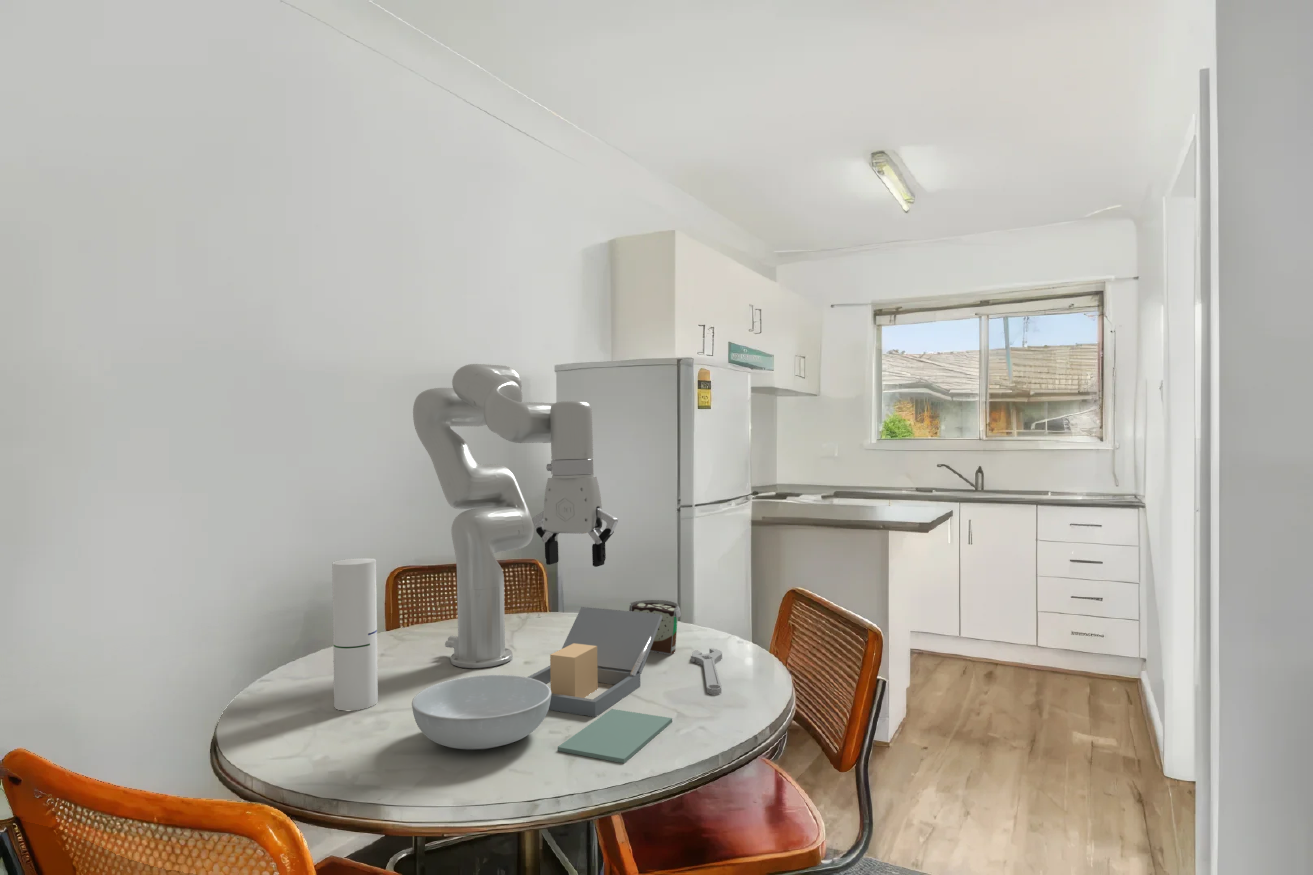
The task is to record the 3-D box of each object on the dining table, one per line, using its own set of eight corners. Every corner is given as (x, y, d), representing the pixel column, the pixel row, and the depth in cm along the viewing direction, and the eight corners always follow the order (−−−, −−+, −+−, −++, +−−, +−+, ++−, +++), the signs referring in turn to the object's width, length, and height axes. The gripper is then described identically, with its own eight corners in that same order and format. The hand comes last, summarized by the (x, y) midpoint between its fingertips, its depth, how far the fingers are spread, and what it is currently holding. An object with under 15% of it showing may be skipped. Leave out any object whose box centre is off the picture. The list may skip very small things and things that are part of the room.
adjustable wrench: (722, 697, 136) (722, 687, 136) (686, 697, 137) (686, 687, 137) (722, 656, 161) (722, 648, 161) (691, 655, 162) (691, 647, 161)
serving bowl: (562, 755, 111) (561, 708, 111) (410, 776, 105) (410, 726, 105) (541, 707, 131) (541, 667, 131) (413, 722, 125) (413, 680, 125)
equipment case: (505, 702, 133) (504, 638, 133) (583, 660, 158) (583, 606, 158) (595, 717, 126) (594, 648, 126) (663, 670, 151) (662, 613, 151)
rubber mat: (557, 750, 112) (557, 746, 112) (611, 712, 128) (611, 708, 128) (624, 763, 108) (624, 758, 108) (672, 721, 123) (672, 717, 123)
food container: (692, 648, 166) (691, 602, 166) (677, 655, 161) (676, 608, 161) (644, 641, 172) (644, 597, 172) (629, 647, 167) (628, 602, 167)
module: (550, 699, 135) (550, 654, 135) (574, 686, 142) (573, 643, 142) (575, 703, 133) (574, 657, 133) (597, 689, 140) (597, 645, 140)
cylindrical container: (386, 699, 136) (384, 558, 136) (358, 713, 129) (356, 565, 129) (353, 695, 138) (352, 557, 138) (324, 708, 132) (322, 563, 132)
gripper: (520, 471, 138) (523, 565, 138) (604, 469, 131) (607, 569, 131) (543, 469, 145) (546, 559, 145) (624, 468, 138) (627, 563, 137)
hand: (575, 564), depth 138 cm, fingers open, 9 cm apart
